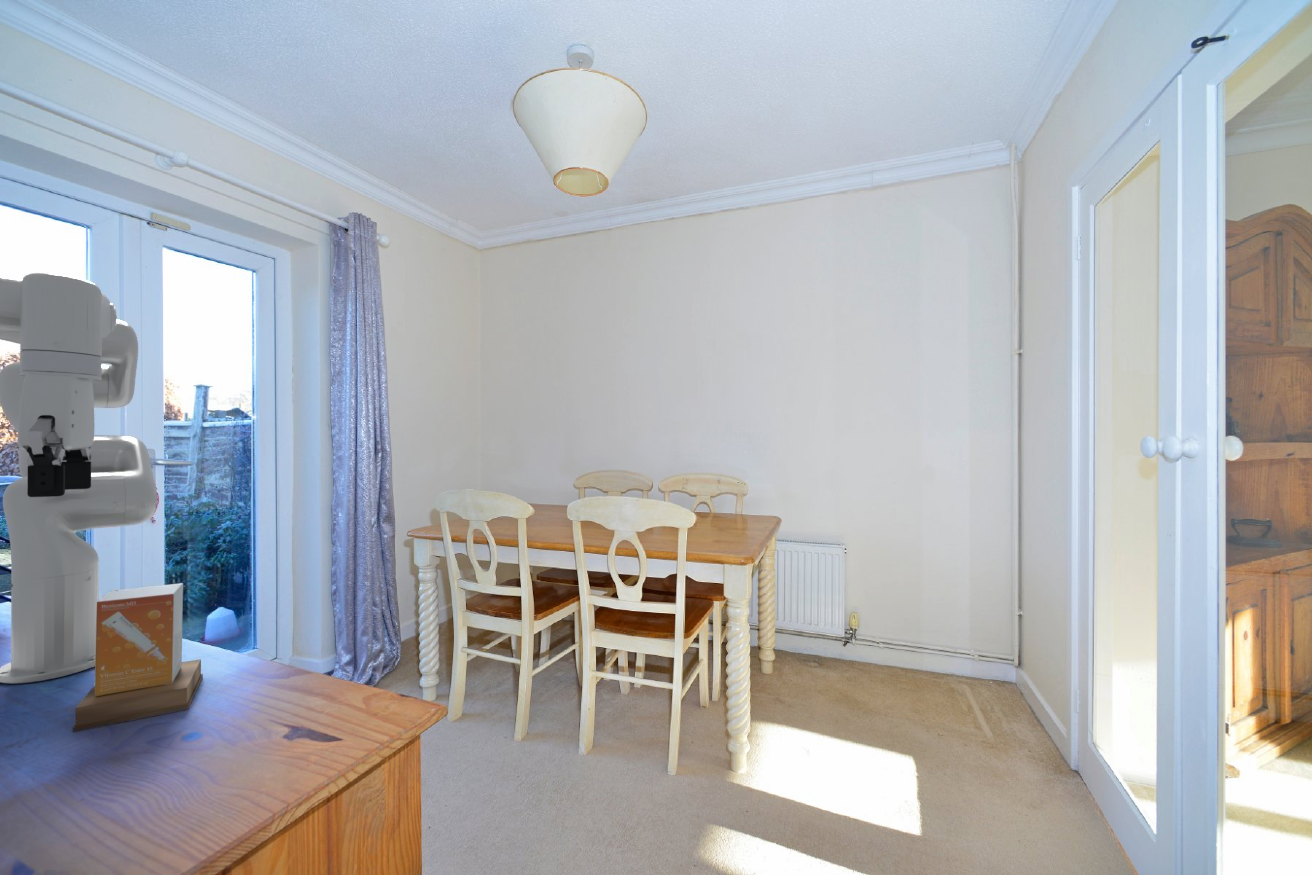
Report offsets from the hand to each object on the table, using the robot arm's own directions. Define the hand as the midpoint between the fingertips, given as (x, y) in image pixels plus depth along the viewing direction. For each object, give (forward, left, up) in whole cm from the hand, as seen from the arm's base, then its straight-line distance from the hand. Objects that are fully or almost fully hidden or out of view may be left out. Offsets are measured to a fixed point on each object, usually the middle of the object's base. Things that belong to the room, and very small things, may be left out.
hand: (61, 492), depth 74 cm
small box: (+2, +9, -28) cm, 29 cm away
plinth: (+2, +9, -30) cm, 32 cm away
